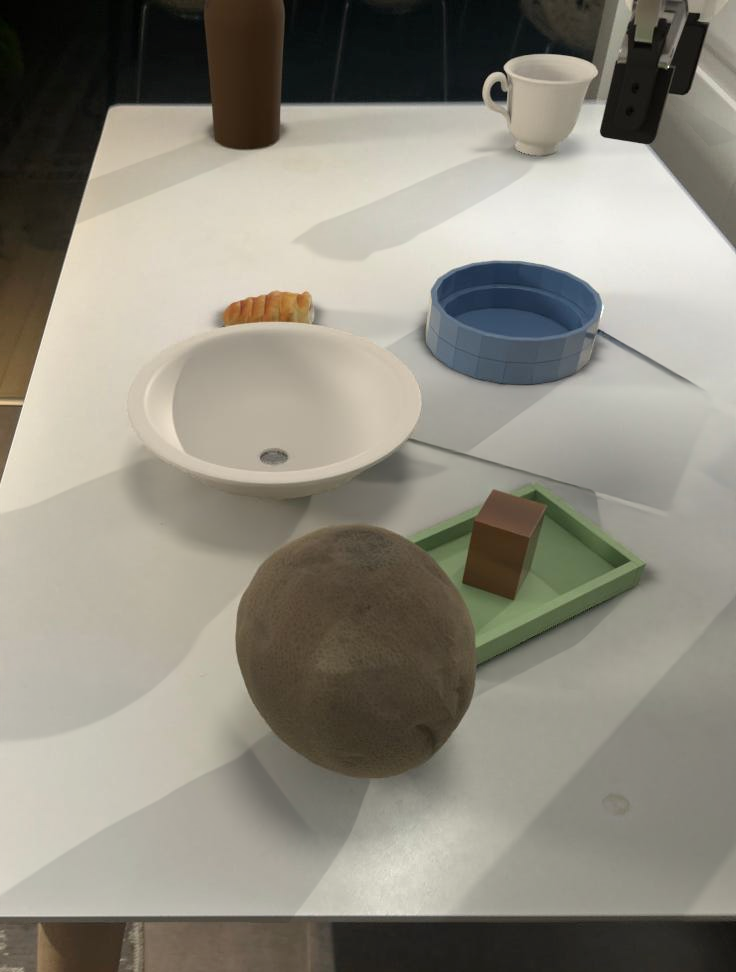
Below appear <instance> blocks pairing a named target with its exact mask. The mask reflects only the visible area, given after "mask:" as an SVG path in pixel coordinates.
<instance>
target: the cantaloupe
mask: <svg viewBox="0 0 736 972" xmlns="http://www.w3.org/2000/svg"><path fill="white" fill-rule="evenodd" d="M406 538H407V537H404V536H403V535H401V534H399V533H396V532H394V531H392V530H389V529H387V528H385V527H380V526H377V525H371V524H365V523H343V524H332V525H329V526H328V525H327V526H324V527H321V528H318V529H315V530H313V531H311V532H308V533H306V534H304V535H301V536H299V537H297V538H295V539H292V540H290V541H289V542H287V543H285V544H283V546H280V547H279V548H278V549H276V550H275V551H274V552H272V553H271V554H270V555H269V556H268V557H267V558H266V559H265V560H264V561H263V562H262V563H261V564H260V565H259V566H258V568H257V569H256V572H255V573H254V575H253V577H252V579H251V580H250V582H249V585H248V586H247V587H246V589H245V590H244V592H243V593H242V595H241V598H240V600H239V604H238V607H237V611H236V621H235V634H234V635H235V638H234V639H235V655H236V659H237V664H238V666H239V667H238V668H239V670H240V674H241V676H242V679H243V682H244V686H245V688H246V691H247V693H248V695H249V697H250V700H251V702H252V704H253V706H254V707H255V709H256V710H257V712H258V714H259V716H260V717H261V718H262V719H263V721H264V722H265V723H266V724H267V726H268V727H269V728H270V730H271V732H273V734H274V735H275V736H276V737H277V738H278V739H279V740H281V741H282V742H283V743H284V744H285V745H286V746H287V747H289V748H290V749H291V750H292V751H293V752H295V753H297V754H298V755H299V756H301V757H303V758H304V759H306V760H307V761H309V762H310V763H312V764H314V765H316V766H318V767H321V768H323V769H324V770H327V771H331V772H333V773H337V774H340V775H343V776H347V777H351V778H357V779H375V780H376V779H377V780H378V779H385V778H386V779H387V778H392V777H395V776H399V775H402V774H404V773H407V772H409V771H411V770H414V769H416V768H418V767H420V766H422V765H423V764H425V763H426V762H427V761H429V760H431V759H432V757H434V756H435V755H436V754H437V752H439V750H440V749H441V748H442V747H443V746H444V745H445V743H447V741H448V740H449V739H450V738H451V736H452V734H453V733H454V732H455V731H456V729H458V726H459V725H460V724H461V722H462V720H463V718H464V717H465V716H466V713H467V711H468V710H469V708H470V706H471V703H472V700H473V696H474V692H475V688H476V679H477V666H476V644H475V631H474V627H473V623H472V620H471V617H470V614H469V611H468V608H467V606H466V604H465V602H464V600H463V598H462V596H461V594H460V592H459V591H458V589H457V588H456V587H455V585H454V584H453V582H452V581H451V580H450V578H449V577H448V575H447V574H446V573H445V572H444V571H443V569H442V568H441V567H440V566H439V565H438V563H437V562H436V561H435V560H434V559H433V558H432V557H431V556H430V555H429V554H428V553H427V552H426V551H425V550H423V549H422V548H421V547H419V546H418V545H416V544H415V543H413V542H411V541H410V540H408V539H406Z"/></svg>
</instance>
